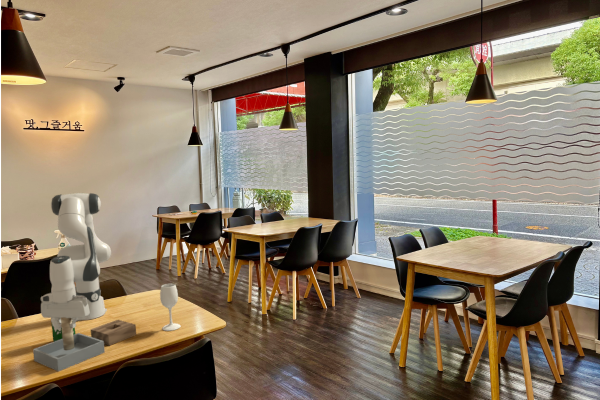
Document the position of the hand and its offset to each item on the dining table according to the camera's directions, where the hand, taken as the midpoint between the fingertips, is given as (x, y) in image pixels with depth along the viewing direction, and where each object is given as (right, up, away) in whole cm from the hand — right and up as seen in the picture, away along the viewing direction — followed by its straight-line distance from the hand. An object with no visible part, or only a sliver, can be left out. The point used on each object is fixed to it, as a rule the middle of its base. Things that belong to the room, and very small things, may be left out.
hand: (67, 327), depth 186 cm
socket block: (+11, -10, +20) cm, 25 cm away
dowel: (0, -9, +1) cm, 9 cm away
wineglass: (+35, -9, +29) cm, 47 cm away
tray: (+1, -13, +1) cm, 13 cm away
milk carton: (-11, -12, +18) cm, 24 cm away
